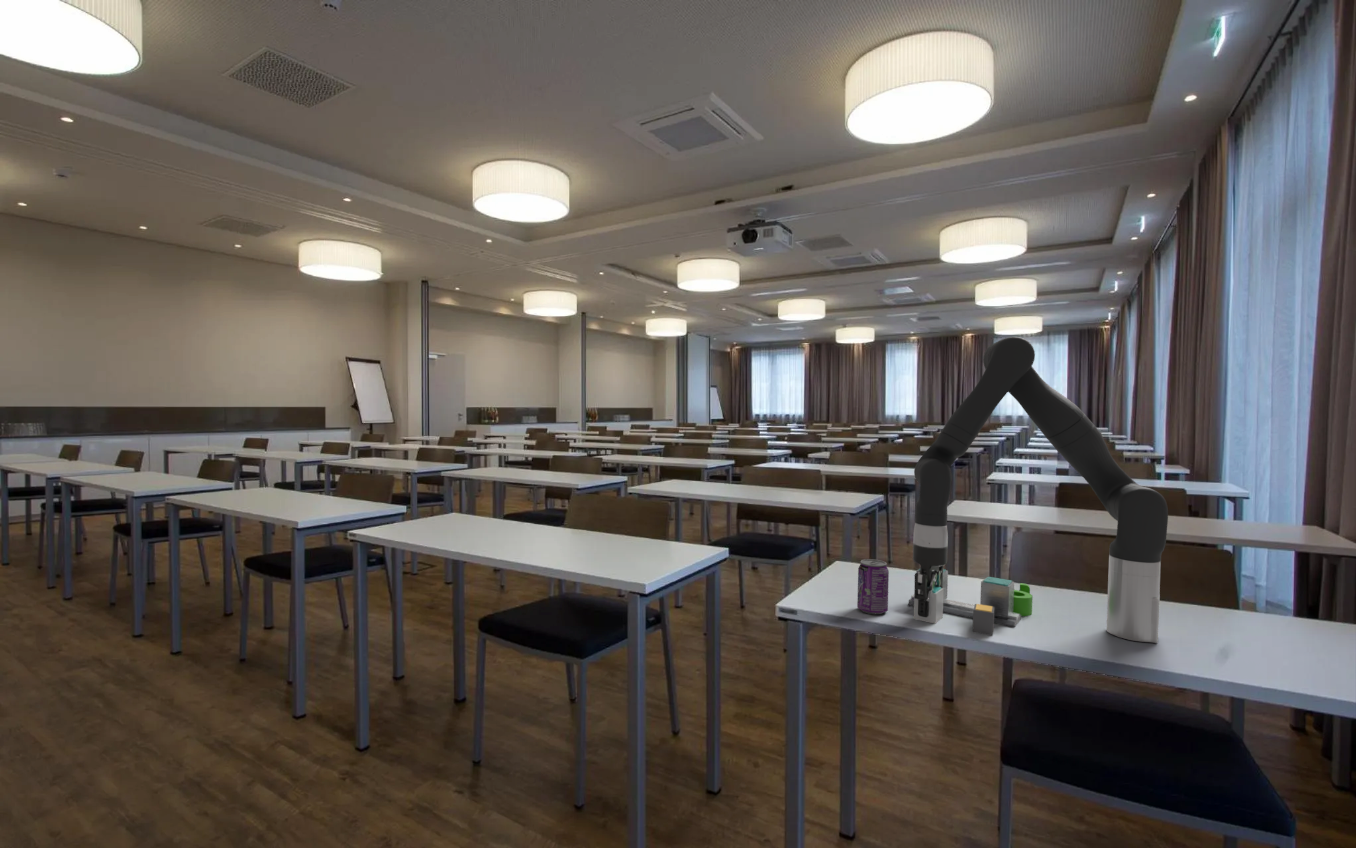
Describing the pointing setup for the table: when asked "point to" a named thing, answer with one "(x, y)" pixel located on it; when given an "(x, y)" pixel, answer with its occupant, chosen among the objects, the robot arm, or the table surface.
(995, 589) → the rail
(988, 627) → the block
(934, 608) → the block
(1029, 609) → the tape dispenser
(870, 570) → the beverage can
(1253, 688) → the table surface
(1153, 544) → the robot arm
